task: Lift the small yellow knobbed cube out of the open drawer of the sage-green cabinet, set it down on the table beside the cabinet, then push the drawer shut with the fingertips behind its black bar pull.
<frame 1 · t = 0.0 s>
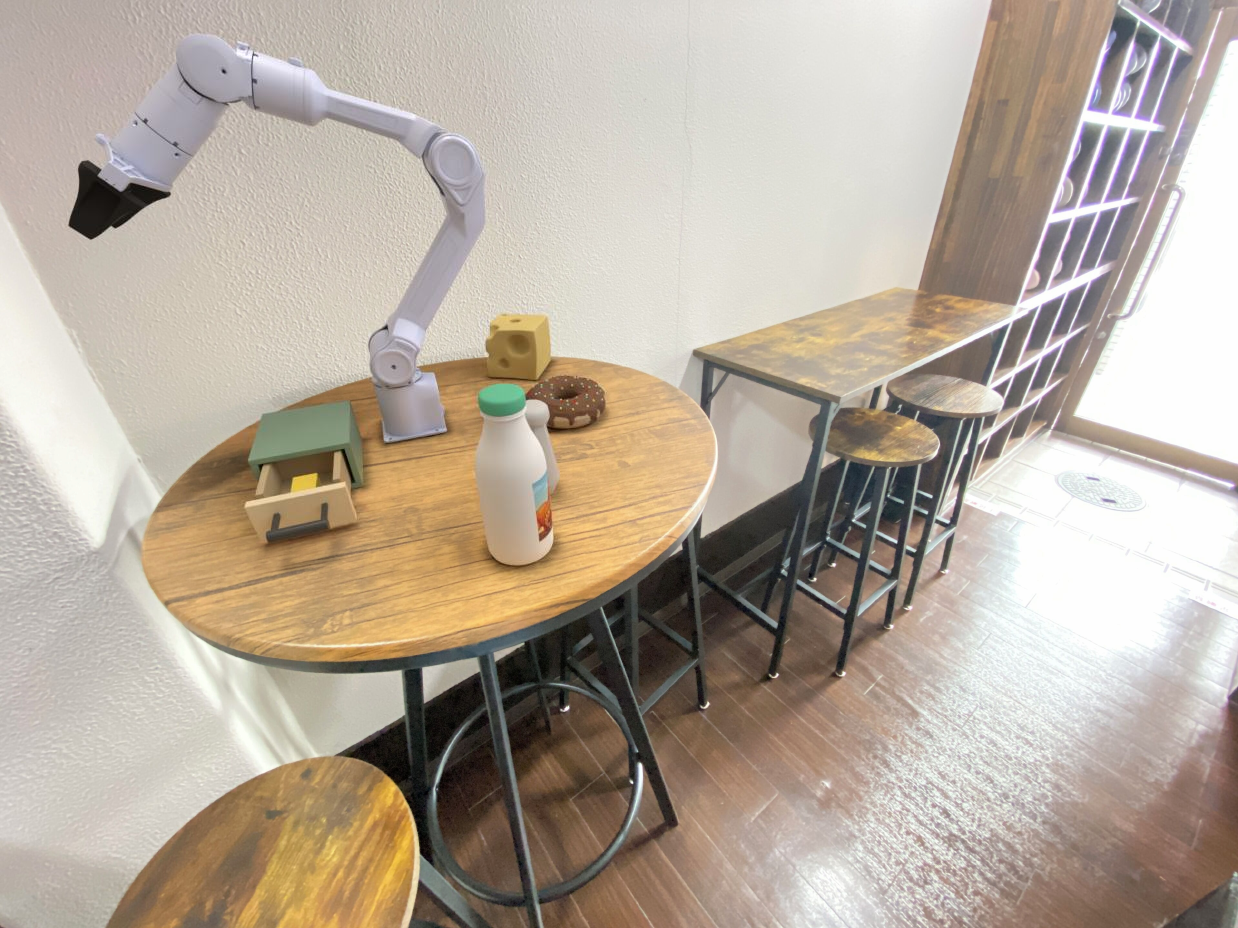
hand: (93, 227, 61), 32 cm above the table, tool tilted 50°, fingers open, 7 cm apart
donut: (564, 415, 92), on the table
drawer: (305, 496, 66), point 4 cm above the table, slide at 8.0 cm, touching yellow knobbed cube
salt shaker: (539, 491, 73), on the table
cabinet: (319, 470, 77), on the table
milk bottle: (521, 546, 63), on the table
yellow knobbed cube: (310, 500, 67), point 2 cm above the table, touching drawer
cheese: (522, 370, 108), on the table
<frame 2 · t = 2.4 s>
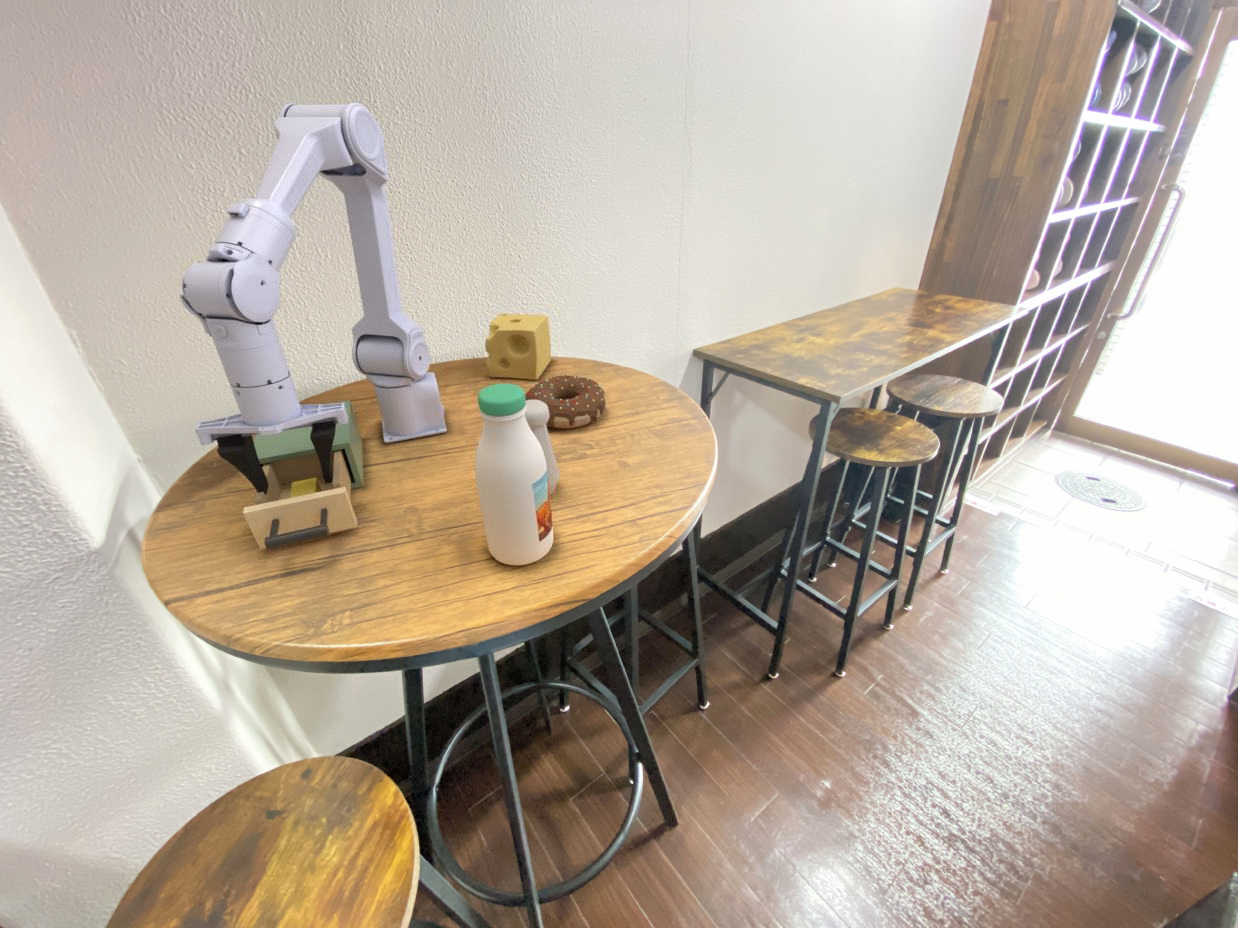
hand: (297, 484, 65), 5 cm above the table, tool pointing down
drawer: (305, 501, 65), point 4 cm above the table, slide at 9.1 cm, touching yellow knobbed cube, gripper
yellow knobbed cube: (309, 505, 67), point 2 cm above the table, touching drawer
everything else where it was.
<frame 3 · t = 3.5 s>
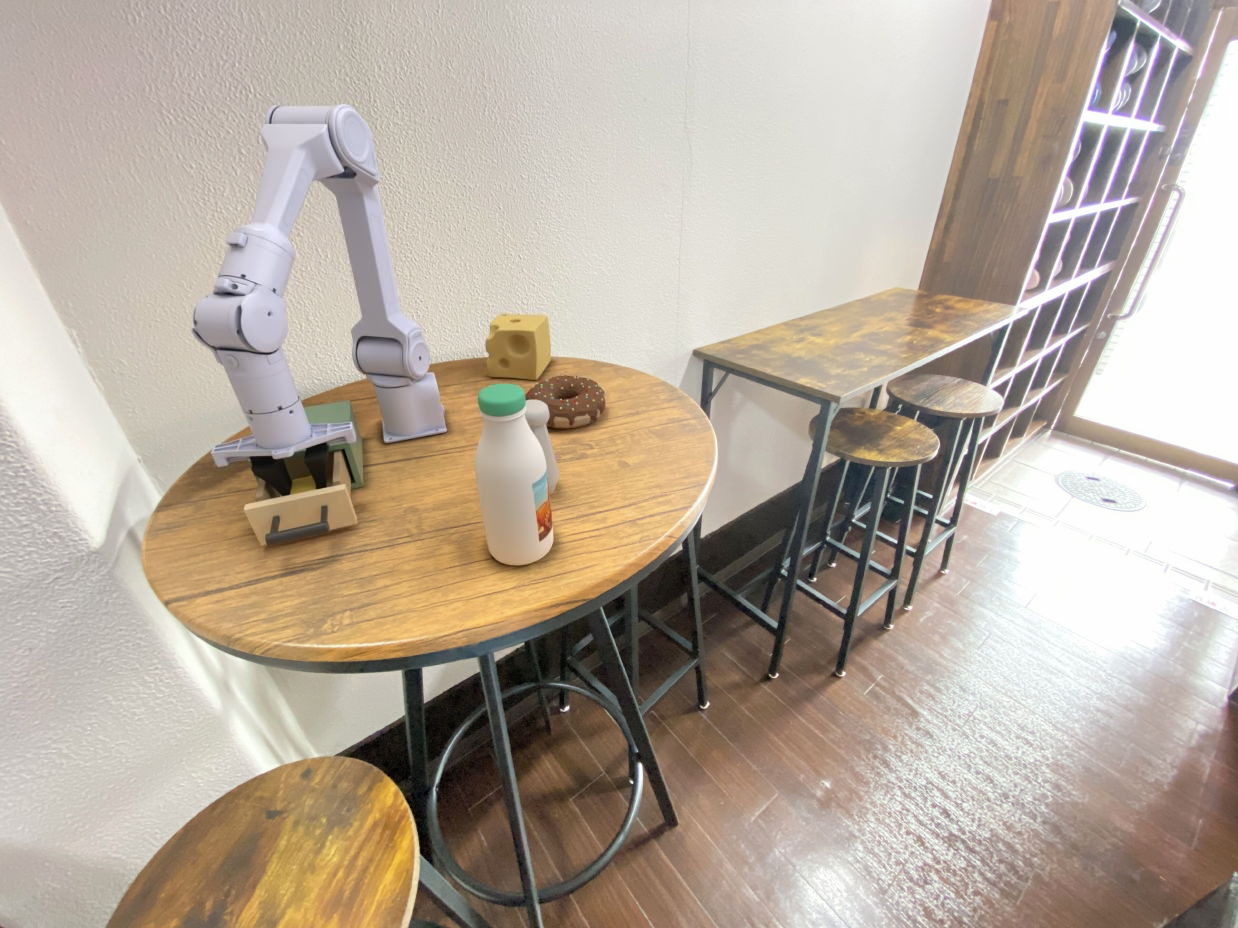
hand: (309, 499, 67), 2 cm above the table, tool pointing down, fingers closed on yellow knobbed cube, 3 cm apart
drawer: (305, 498, 65), point 4 cm above the table, slide at 8.5 cm, touching yellow knobbed cube
yellow knobbed cube: (310, 503, 67), point 2 cm above the table, touching drawer, gripper
everything else where it was.
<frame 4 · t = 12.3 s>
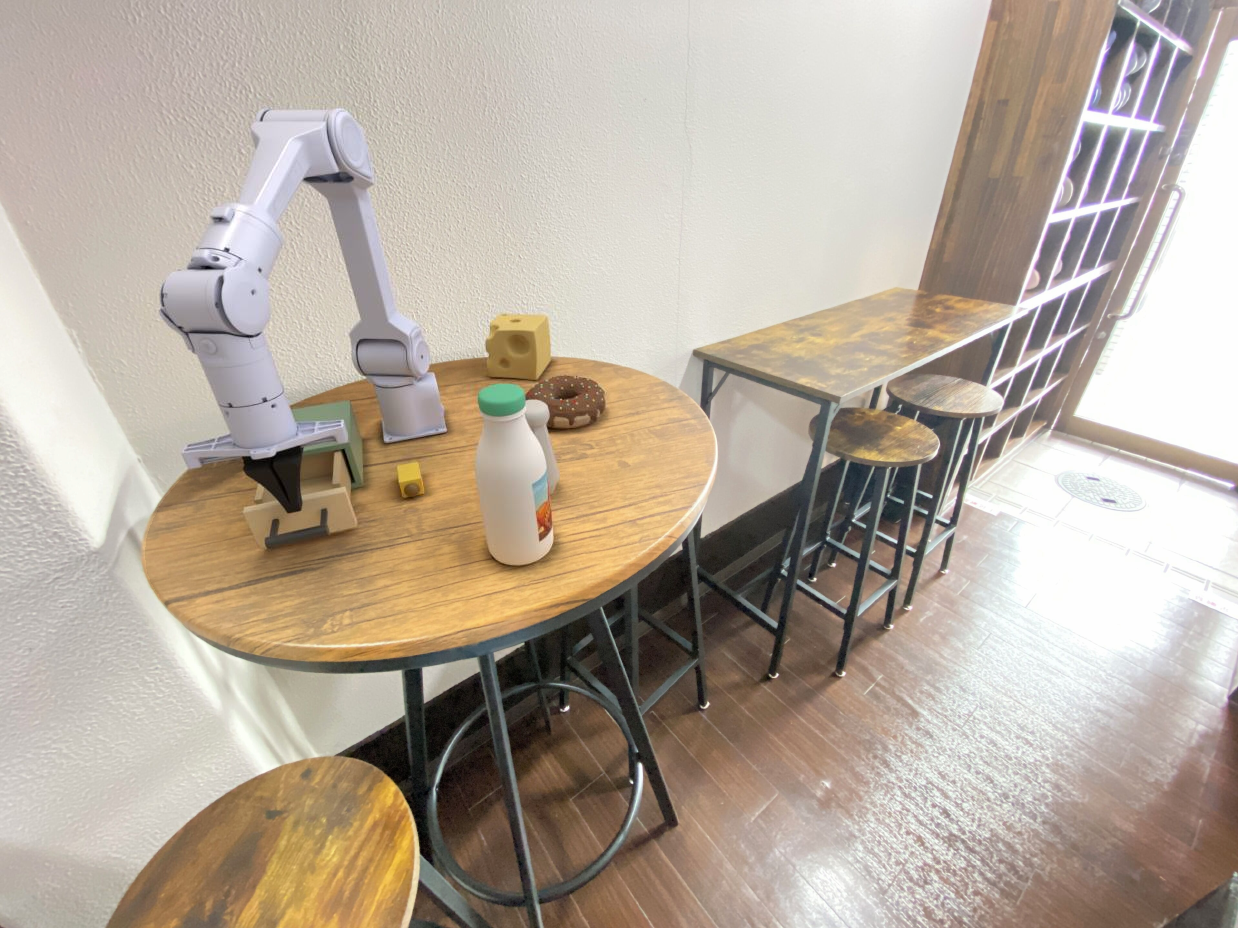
hand: (294, 507, 60), 6 cm above the table, tool pointing down, fingers closed, pressing on drawer
drawer: (305, 501, 65), point 4 cm above the table, slide at 9.1 cm, touching gripper
yellow knobbed cube: (412, 487, 73), on the table
everything else where it was.
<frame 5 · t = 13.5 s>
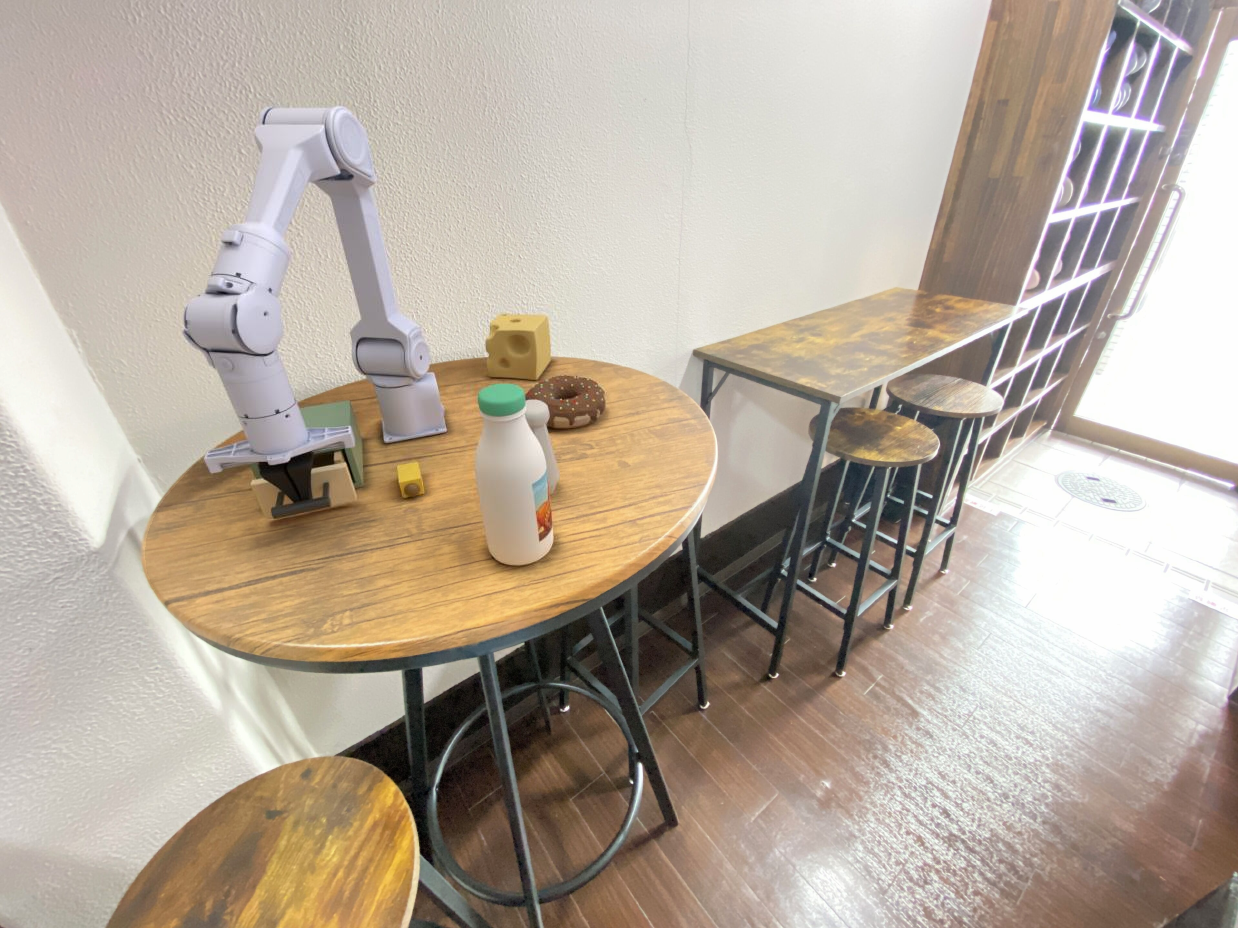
hand: (306, 506, 65), 3 cm above the table, tool pointing down, fingers closed, pressing on drawer
drawer: (308, 477, 69), point 4 cm above the table, slide at 3.4 cm, touching gripper
everything else where it was.
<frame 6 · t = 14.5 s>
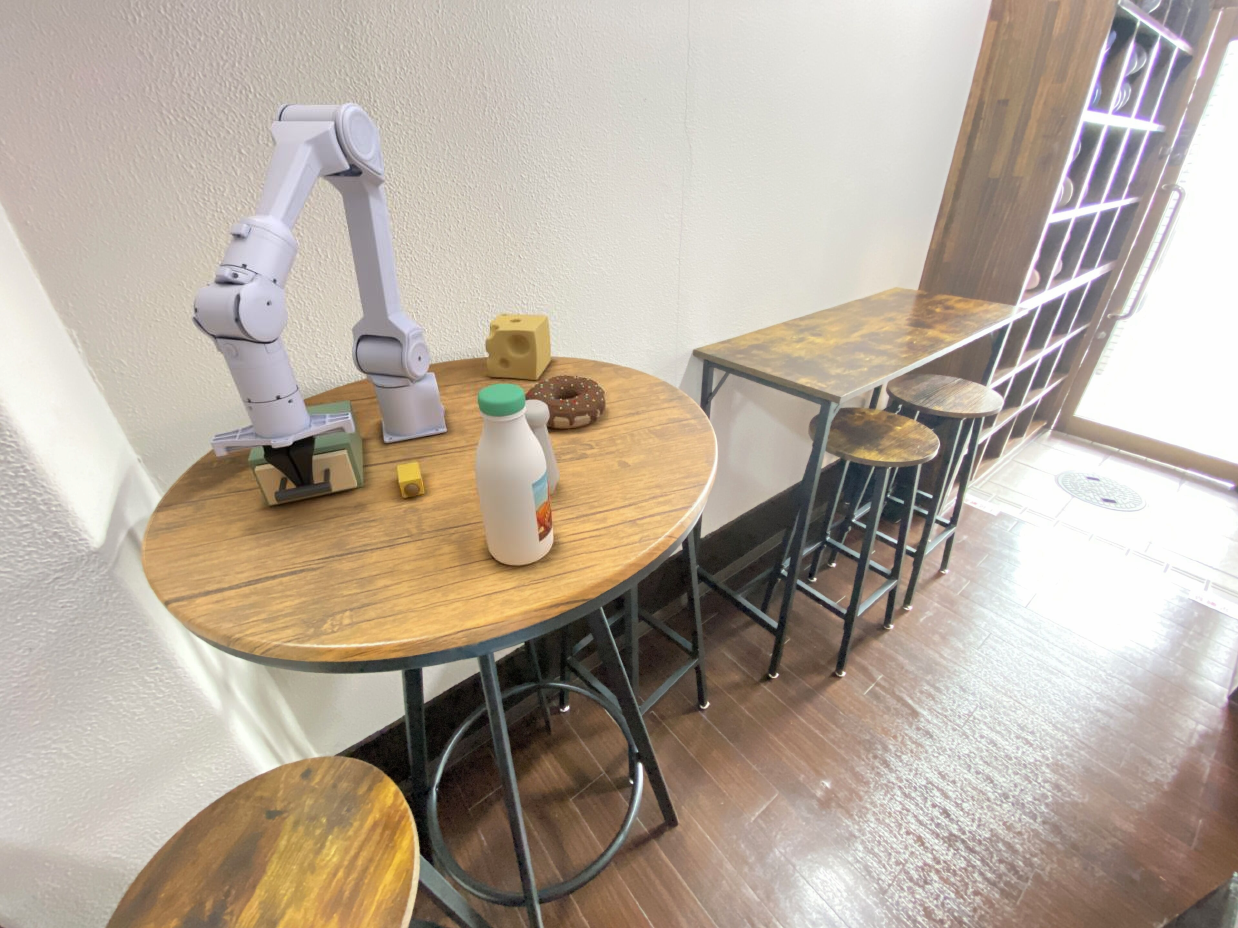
hand: (308, 490, 68), 3 cm above the table, tool pointing down, fingers closed, pressing on drawer
drawer: (309, 464, 72), point 4 cm above the table, slide at 0.0 cm, touching cabinet, gripper
everything else where it was.
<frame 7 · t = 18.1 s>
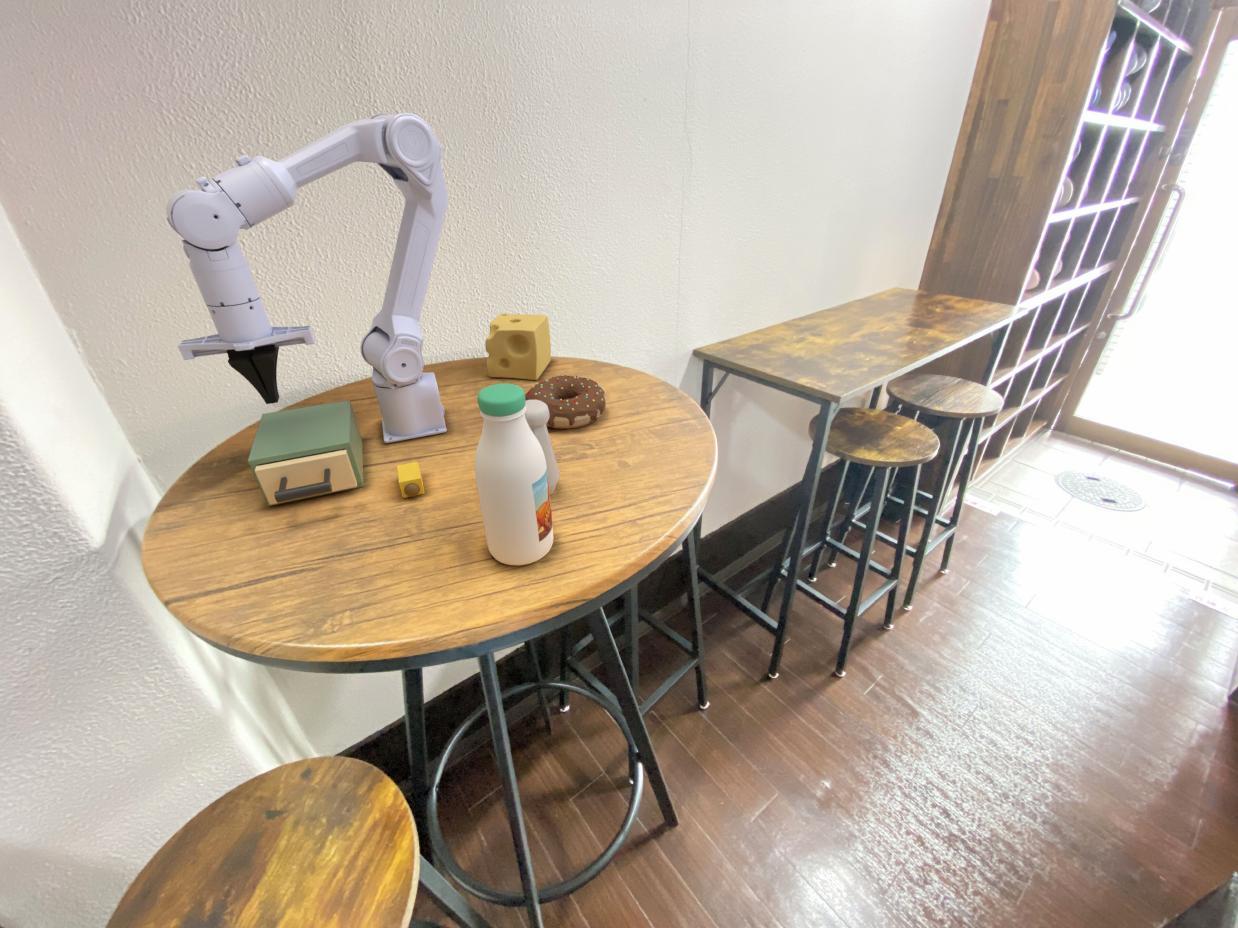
hand: (272, 400, 73), 10 cm above the table, tool pointing down, fingers closed
drawer: (309, 464, 72), point 4 cm above the table, slide at 0.0 cm
everything else where it was.
at the end: yellow knobbed cube inside the target area (0.6 cm from its centre), on the table; the gripper is holding nothing; drawer slide at 0.0 cm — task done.
